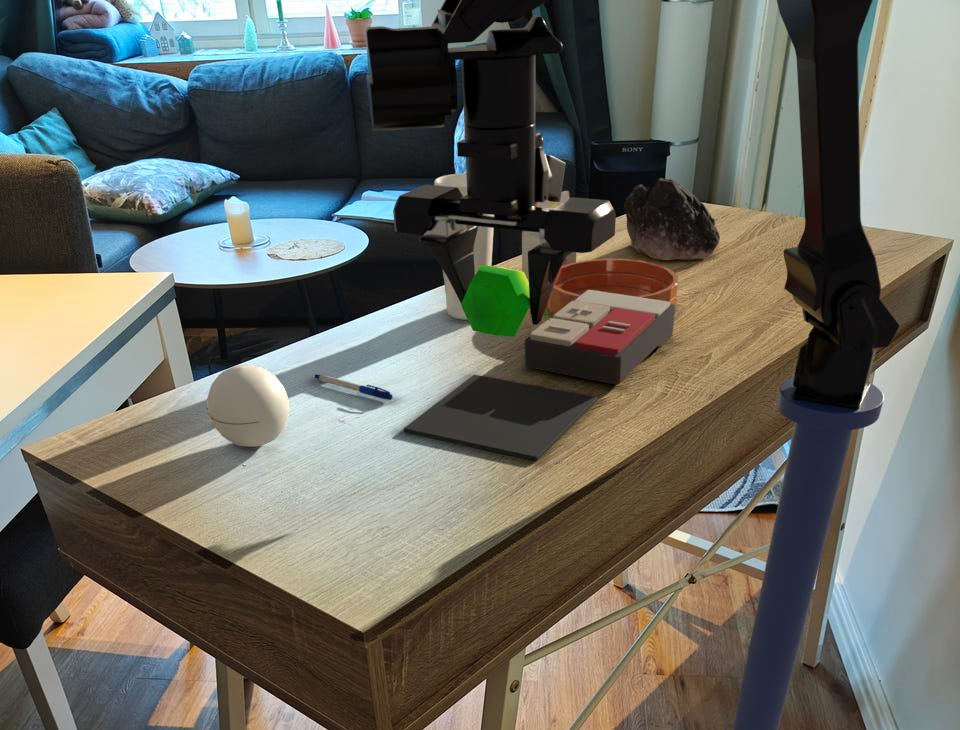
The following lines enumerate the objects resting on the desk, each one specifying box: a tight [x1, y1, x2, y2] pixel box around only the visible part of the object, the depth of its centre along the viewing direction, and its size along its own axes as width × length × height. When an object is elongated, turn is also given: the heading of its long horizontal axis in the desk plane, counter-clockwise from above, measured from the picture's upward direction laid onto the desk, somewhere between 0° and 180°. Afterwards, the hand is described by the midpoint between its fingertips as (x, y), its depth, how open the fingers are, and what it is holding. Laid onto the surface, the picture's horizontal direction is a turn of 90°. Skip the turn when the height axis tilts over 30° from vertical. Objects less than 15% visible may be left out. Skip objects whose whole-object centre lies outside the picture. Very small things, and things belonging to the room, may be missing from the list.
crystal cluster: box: [623, 177, 721, 261], centre depth 125 cm, size 13×14×10 cm
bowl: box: [546, 258, 679, 315], centre depth 109 cm, size 16×16×4 cm
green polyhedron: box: [461, 265, 550, 338], centre depth 80 cm, size 7×6×9 cm
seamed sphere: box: [193, 363, 290, 448], centre depth 81 cm, size 10×7×7 cm
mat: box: [403, 374, 598, 462], centre depth 87 cm, size 14×14×1 cm
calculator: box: [524, 290, 676, 385], centre depth 96 cm, size 11×4×15 cm
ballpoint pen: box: [313, 373, 393, 401], centre depth 92 cm, size 10×1×1 cm, turn 57°
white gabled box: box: [521, 190, 577, 282], centre depth 117 cm, size 4×7×10 cm, turn 136°
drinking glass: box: [433, 172, 495, 321], centre depth 105 cm, size 7×7×15 cm
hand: (503, 318), depth 81 cm, fingers closed on green polyhedron, 6 cm apart
